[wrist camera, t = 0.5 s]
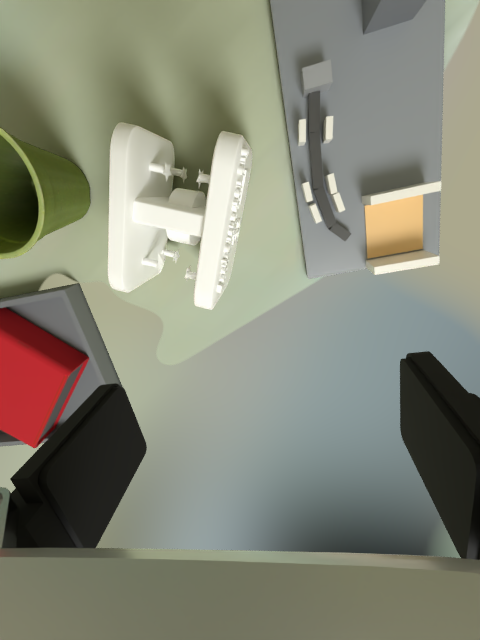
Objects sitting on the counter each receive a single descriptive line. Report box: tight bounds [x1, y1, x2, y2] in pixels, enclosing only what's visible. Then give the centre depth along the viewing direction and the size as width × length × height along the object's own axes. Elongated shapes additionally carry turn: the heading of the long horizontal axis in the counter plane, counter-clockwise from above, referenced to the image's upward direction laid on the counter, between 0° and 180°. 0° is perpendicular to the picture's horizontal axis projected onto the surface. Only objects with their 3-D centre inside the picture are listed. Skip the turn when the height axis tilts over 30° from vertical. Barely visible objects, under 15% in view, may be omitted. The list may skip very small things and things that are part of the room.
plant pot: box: [0, 127, 90, 259], centre depth 31 cm, size 12×12×11 cm
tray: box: [0, 283, 122, 446], centre depth 46 cm, size 24×28×3 cm
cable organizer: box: [108, 122, 252, 310], centre depth 30 cm, size 15×11×12 cm
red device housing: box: [0, 307, 89, 448], centre depth 45 cm, size 18×14×5 cm
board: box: [270, 0, 445, 279], centre depth 28 cm, size 27×14×5 cm, turn 12°
